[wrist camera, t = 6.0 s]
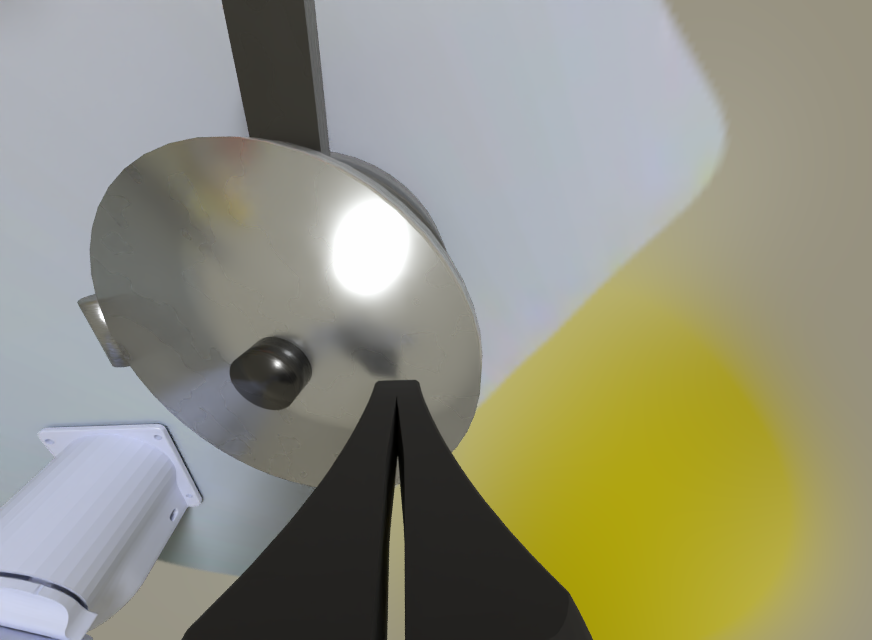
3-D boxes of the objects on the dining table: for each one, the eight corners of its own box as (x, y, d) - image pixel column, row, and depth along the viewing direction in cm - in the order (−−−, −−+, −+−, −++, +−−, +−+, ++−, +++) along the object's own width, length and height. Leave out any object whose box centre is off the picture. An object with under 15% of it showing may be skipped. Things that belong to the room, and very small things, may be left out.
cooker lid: (463, 494, 16) (458, 544, 14) (176, 438, 18) (135, 475, 16) (514, 152, 8) (518, 154, 6) (17, 123, 11) (-95, 118, 9)
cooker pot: (441, 371, 23) (451, 424, 19) (239, 375, 22) (199, 434, 18) (467, 6, 14) (498, -56, 9) (109, -30, 12) (-51, -124, 8)
